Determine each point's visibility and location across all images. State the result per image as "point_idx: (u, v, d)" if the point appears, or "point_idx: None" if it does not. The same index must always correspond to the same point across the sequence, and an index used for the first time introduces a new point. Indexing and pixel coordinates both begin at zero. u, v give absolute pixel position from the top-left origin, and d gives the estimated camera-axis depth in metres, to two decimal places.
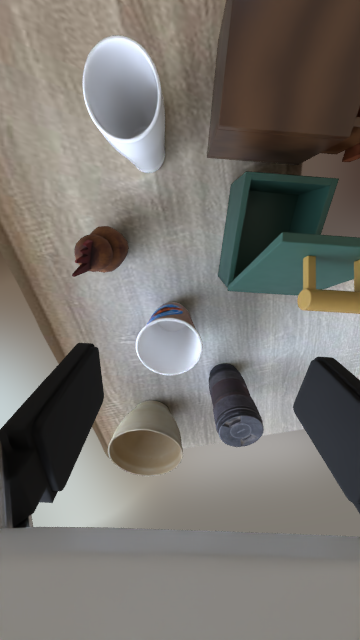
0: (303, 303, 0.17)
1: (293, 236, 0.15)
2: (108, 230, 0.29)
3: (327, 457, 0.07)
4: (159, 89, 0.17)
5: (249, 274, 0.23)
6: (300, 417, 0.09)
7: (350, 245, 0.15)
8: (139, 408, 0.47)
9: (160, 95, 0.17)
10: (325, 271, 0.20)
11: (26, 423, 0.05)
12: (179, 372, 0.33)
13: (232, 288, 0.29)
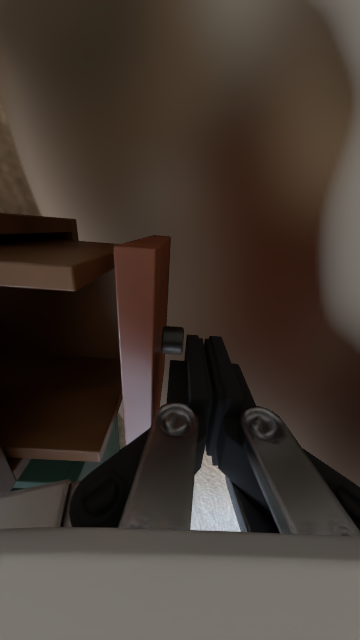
0: None
1: None
2: None
3: None
4: None
5: None
6: None
7: None
8: None
9: None
10: None
11: (205, 393, 0.06)
12: None
13: None
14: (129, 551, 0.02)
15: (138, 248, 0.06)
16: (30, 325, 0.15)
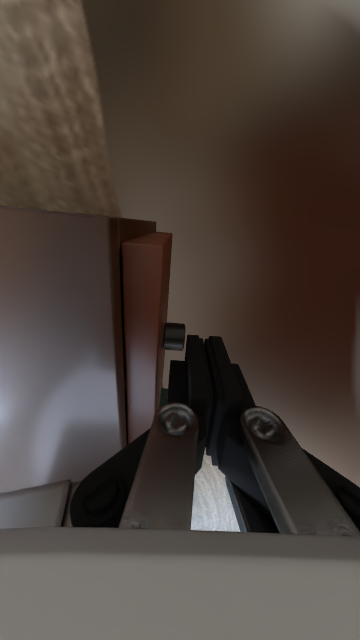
0: None
1: None
2: None
3: None
4: None
5: None
6: None
7: None
8: None
9: None
10: None
11: (206, 393, 0.06)
12: None
13: None
14: (129, 551, 0.02)
15: (146, 245, 0.06)
16: None
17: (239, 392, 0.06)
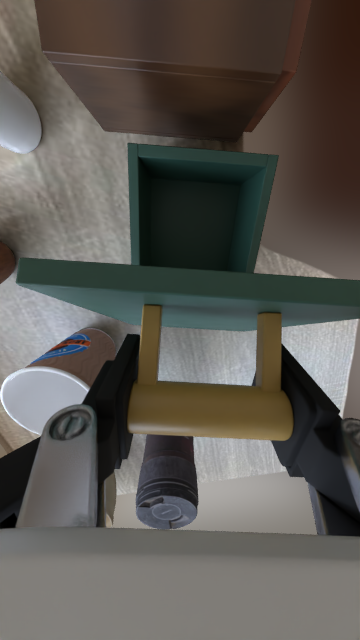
0: None
1: (48, 269, 0.06)
2: None
3: None
4: None
5: (112, 316, 0.13)
6: None
7: (205, 294, 0.06)
8: None
9: None
10: (227, 319, 0.11)
11: (112, 395, 0.06)
12: None
13: (131, 323, 0.19)
14: (129, 551, 0.02)
15: None
16: None
17: (331, 403, 0.06)
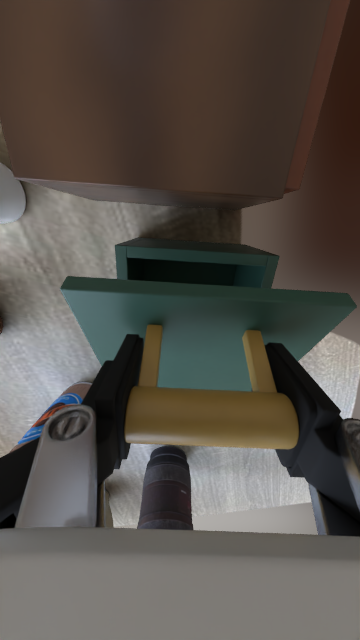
0: None
1: (85, 281, 0.08)
2: None
3: None
4: None
5: None
6: None
7: (196, 295, 0.08)
8: None
9: None
10: (219, 362, 0.12)
11: (112, 395, 0.06)
12: None
13: None
14: (129, 551, 0.02)
15: None
16: None
17: (332, 403, 0.06)
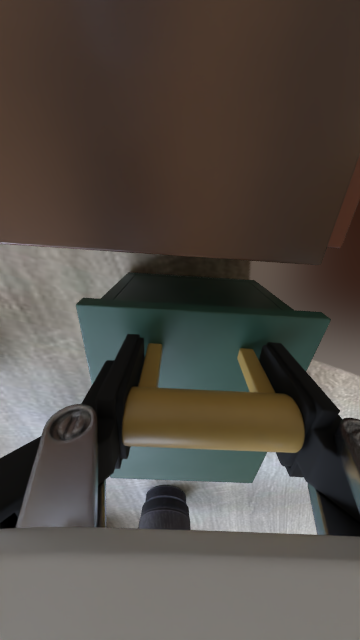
0: None
1: (98, 300, 0.09)
2: None
3: None
4: None
5: None
6: None
7: (193, 310, 0.09)
8: None
9: None
10: None
11: (113, 395, 0.06)
12: None
13: None
14: (129, 551, 0.02)
15: None
16: None
17: (331, 403, 0.06)
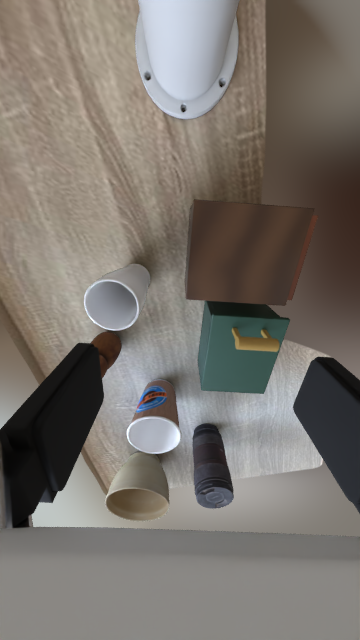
0: (237, 344, 0.27)
1: (218, 314, 0.30)
2: (104, 344, 0.36)
3: (327, 457, 0.07)
4: (138, 304, 0.24)
5: (209, 356, 0.33)
6: (300, 417, 0.09)
7: (248, 317, 0.30)
8: (132, 462, 0.54)
9: (139, 307, 0.24)
10: None
11: (26, 423, 0.05)
12: (163, 451, 0.40)
13: (204, 384, 0.36)
14: (129, 551, 0.02)
15: (314, 215, 0.25)
16: None
17: None
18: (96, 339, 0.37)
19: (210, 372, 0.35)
